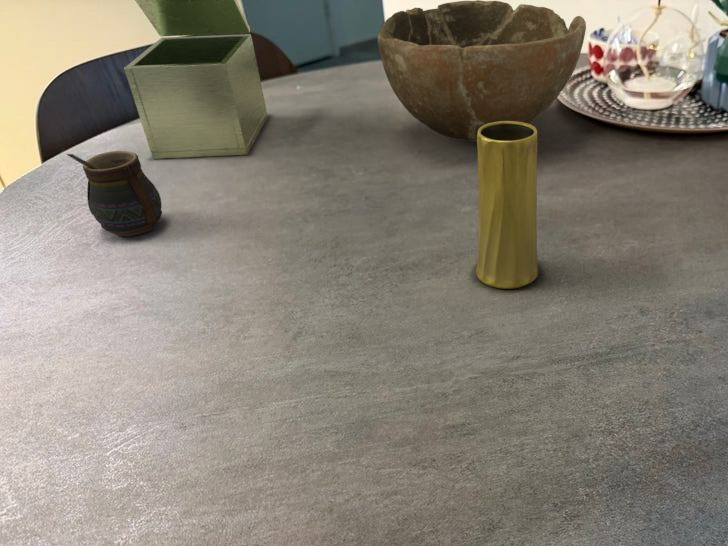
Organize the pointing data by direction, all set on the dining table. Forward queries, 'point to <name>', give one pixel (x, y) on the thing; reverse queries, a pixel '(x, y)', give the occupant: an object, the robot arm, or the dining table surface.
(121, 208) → the mate gourd
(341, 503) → the dining table surface
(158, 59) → the bin
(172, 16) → the bin lid
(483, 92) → the bowl
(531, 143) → the vase
